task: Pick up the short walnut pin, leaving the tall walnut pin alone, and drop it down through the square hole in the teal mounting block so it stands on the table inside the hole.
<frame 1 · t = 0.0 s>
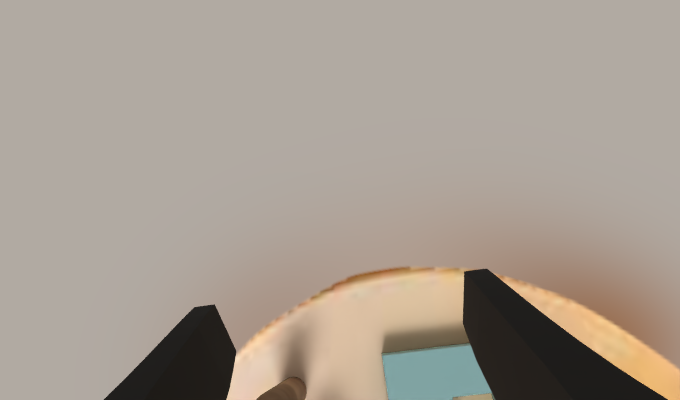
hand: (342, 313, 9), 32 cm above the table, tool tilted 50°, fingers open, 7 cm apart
tall pin: (293, 392, 37), on the table
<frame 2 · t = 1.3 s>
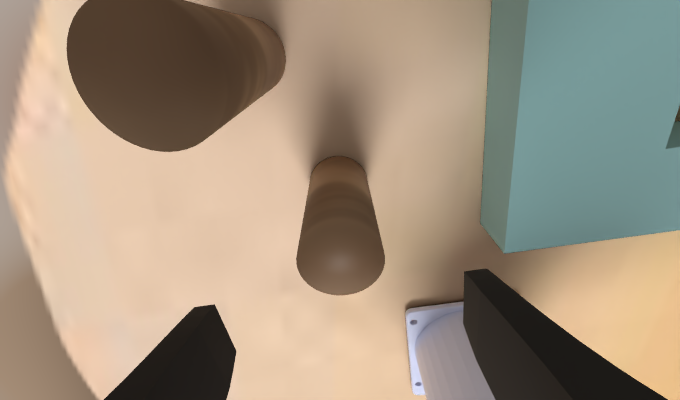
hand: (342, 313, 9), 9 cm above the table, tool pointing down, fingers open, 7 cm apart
short pin: (338, 183, 18), on the table
mounting block: (674, 75, 15), on the table
tall pin: (251, 57, 15), on the table
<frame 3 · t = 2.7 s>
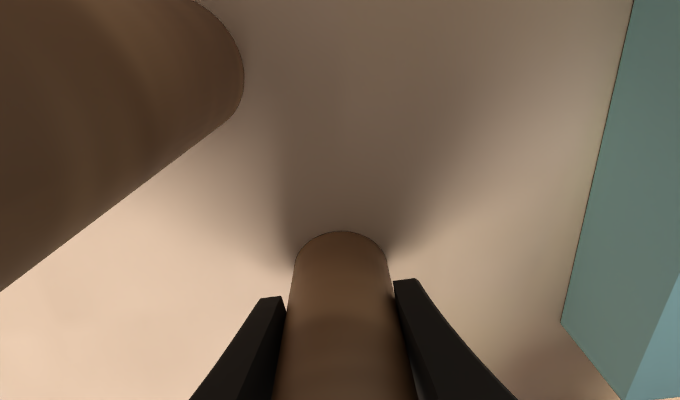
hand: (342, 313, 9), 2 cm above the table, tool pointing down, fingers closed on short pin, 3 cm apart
short pin: (340, 270, 11), on the table, touching gripper
tall pin: (179, 69, 8), on the table
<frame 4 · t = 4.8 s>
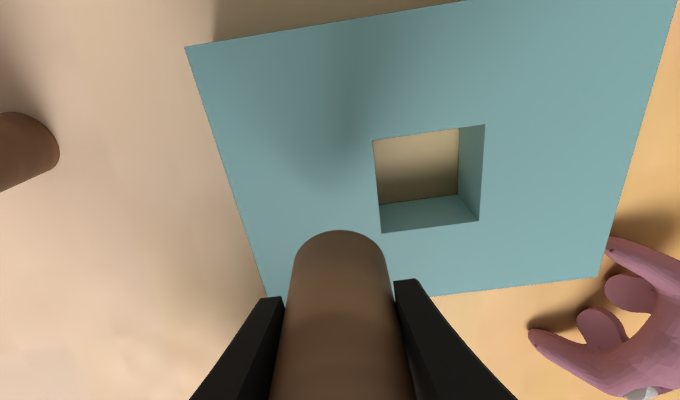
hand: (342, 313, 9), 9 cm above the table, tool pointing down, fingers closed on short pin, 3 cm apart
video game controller: (589, 291, 22), on the table
short pin: (339, 269, 11), point 8 cm above the table, touching gripper
mounting block: (414, 161, 17), on the table
tall pin: (25, 143, 16), on the table
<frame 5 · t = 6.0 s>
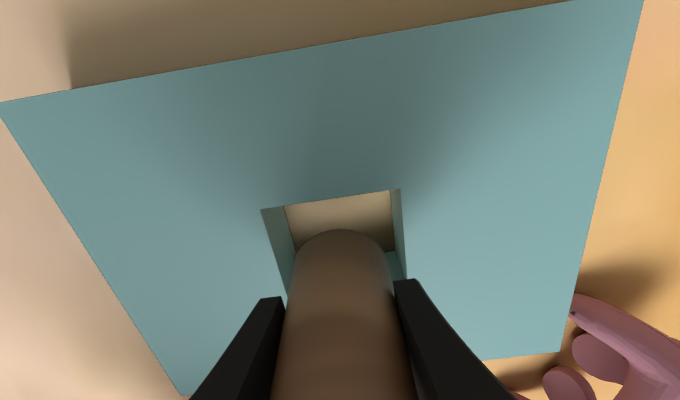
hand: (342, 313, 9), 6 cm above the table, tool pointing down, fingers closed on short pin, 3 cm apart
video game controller: (556, 347, 19), on the table
short pin: (340, 268, 11), point 4 cm above the table, touching gripper
mounting block: (339, 215, 14), on the table
when the fingers open (4 cm above the table, at t = 6.7 s): short pin drops 2 cm, resting in mounting block.
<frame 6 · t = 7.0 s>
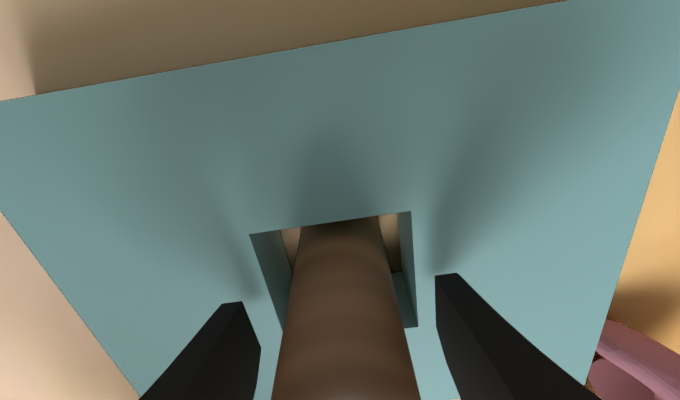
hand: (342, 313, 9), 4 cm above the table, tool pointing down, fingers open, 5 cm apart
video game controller: (570, 371, 18), on the table
short pin: (340, 231, 13), resting in mounting block
mounting block: (339, 234, 13), on the table
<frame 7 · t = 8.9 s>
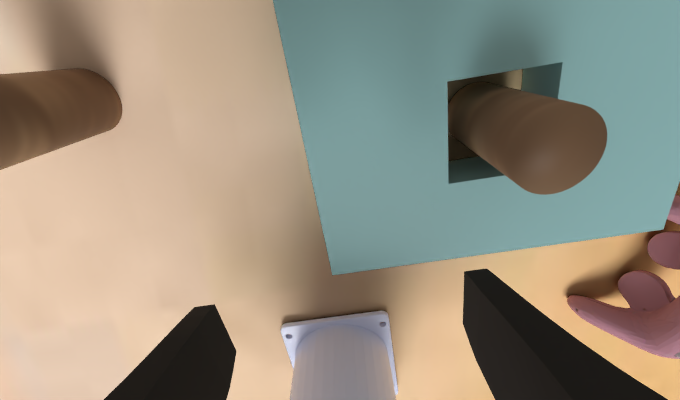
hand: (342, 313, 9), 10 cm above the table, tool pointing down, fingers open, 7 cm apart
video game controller: (630, 253, 22), on the table
short pin: (475, 113, 17), resting in mounting block
mounting block: (474, 115, 17), on the table
tall pin: (89, 101, 16), on the table
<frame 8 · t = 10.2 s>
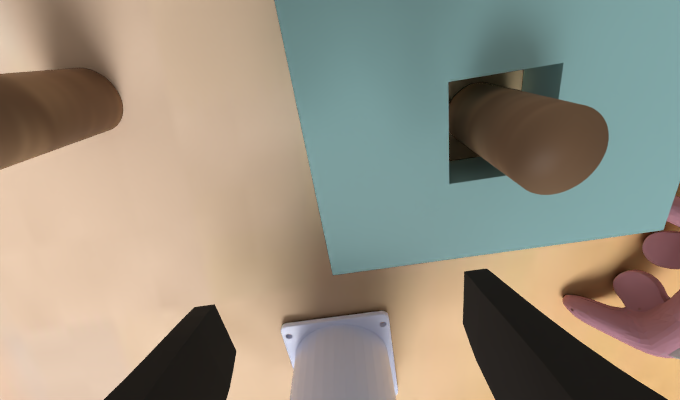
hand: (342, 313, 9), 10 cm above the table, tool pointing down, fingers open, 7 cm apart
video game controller: (625, 253, 22), on the table
short pin: (475, 113, 17), resting in mounting block
mounting block: (475, 115, 17), on the table
tall pin: (90, 101, 16), on the table
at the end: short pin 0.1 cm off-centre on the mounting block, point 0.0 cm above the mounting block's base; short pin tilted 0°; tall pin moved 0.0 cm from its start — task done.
